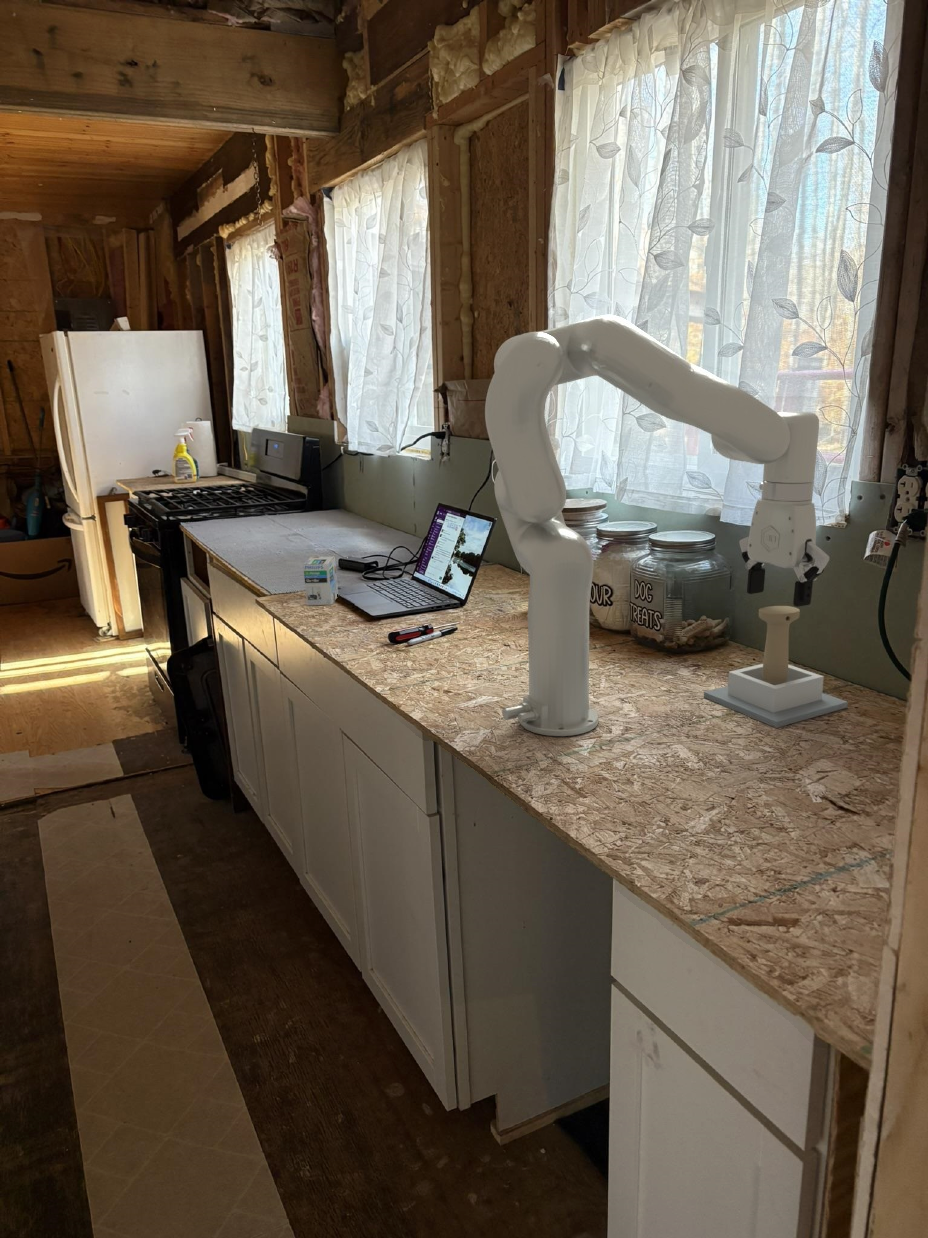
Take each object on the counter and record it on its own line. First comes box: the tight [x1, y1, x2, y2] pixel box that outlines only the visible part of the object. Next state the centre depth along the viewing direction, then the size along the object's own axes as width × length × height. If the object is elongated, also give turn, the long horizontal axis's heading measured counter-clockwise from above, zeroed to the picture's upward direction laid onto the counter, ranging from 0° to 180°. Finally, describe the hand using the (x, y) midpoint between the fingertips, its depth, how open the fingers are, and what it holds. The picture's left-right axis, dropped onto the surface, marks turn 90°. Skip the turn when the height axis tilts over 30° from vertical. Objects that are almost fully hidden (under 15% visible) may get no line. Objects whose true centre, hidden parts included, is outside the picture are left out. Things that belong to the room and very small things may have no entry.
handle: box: [758, 605, 801, 685], centre depth 143 cm, size 5×6×15 cm
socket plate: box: [703, 663, 849, 729], centre depth 145 cm, size 16×16×5 cm
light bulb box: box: [303, 555, 339, 606], centre depth 223 cm, size 11×7×11 cm, turn 179°
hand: (777, 598), depth 141 cm, fingers open, 9 cm apart
